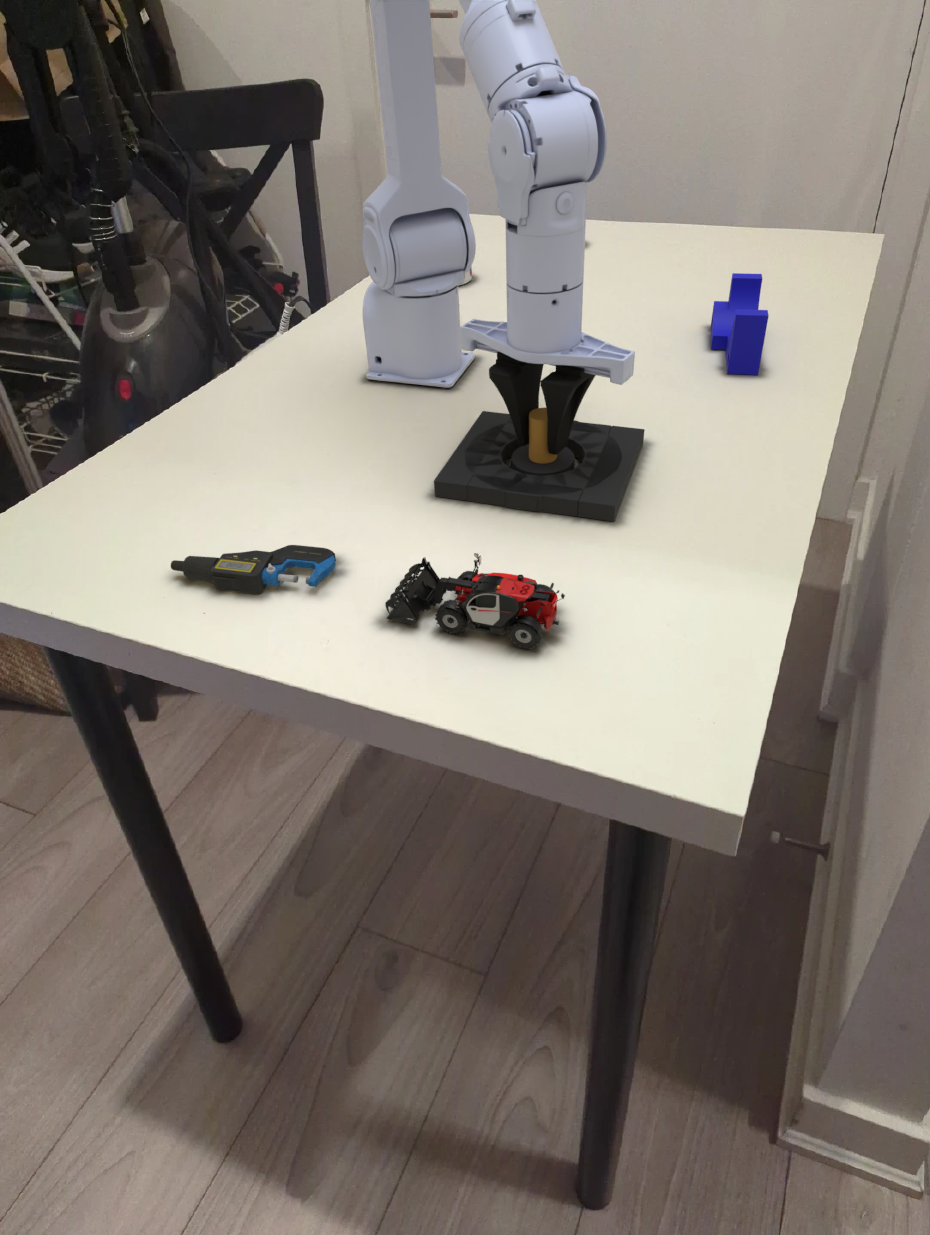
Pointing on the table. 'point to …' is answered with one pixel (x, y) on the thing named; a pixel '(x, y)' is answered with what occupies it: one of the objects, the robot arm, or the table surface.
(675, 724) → the table surface
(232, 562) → the micrometer
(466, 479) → the socket pad
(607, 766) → the table surface
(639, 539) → the table surface
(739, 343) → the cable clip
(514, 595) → the loader
